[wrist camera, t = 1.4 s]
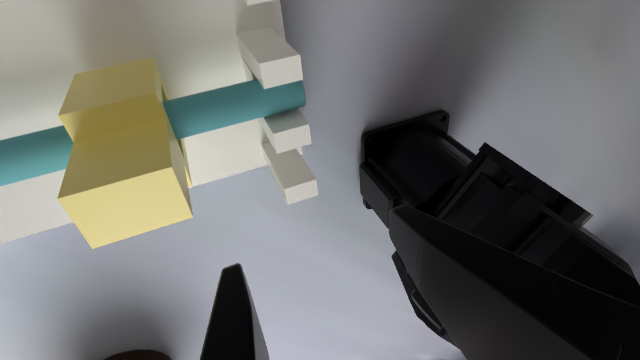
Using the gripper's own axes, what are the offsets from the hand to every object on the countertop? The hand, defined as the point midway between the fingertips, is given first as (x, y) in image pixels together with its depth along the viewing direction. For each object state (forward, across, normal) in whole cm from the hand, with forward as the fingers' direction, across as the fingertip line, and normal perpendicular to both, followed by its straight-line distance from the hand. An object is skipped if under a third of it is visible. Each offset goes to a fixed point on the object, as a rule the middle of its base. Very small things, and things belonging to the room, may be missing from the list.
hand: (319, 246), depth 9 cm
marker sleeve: (+11, +5, 0) cm, 12 cm away
